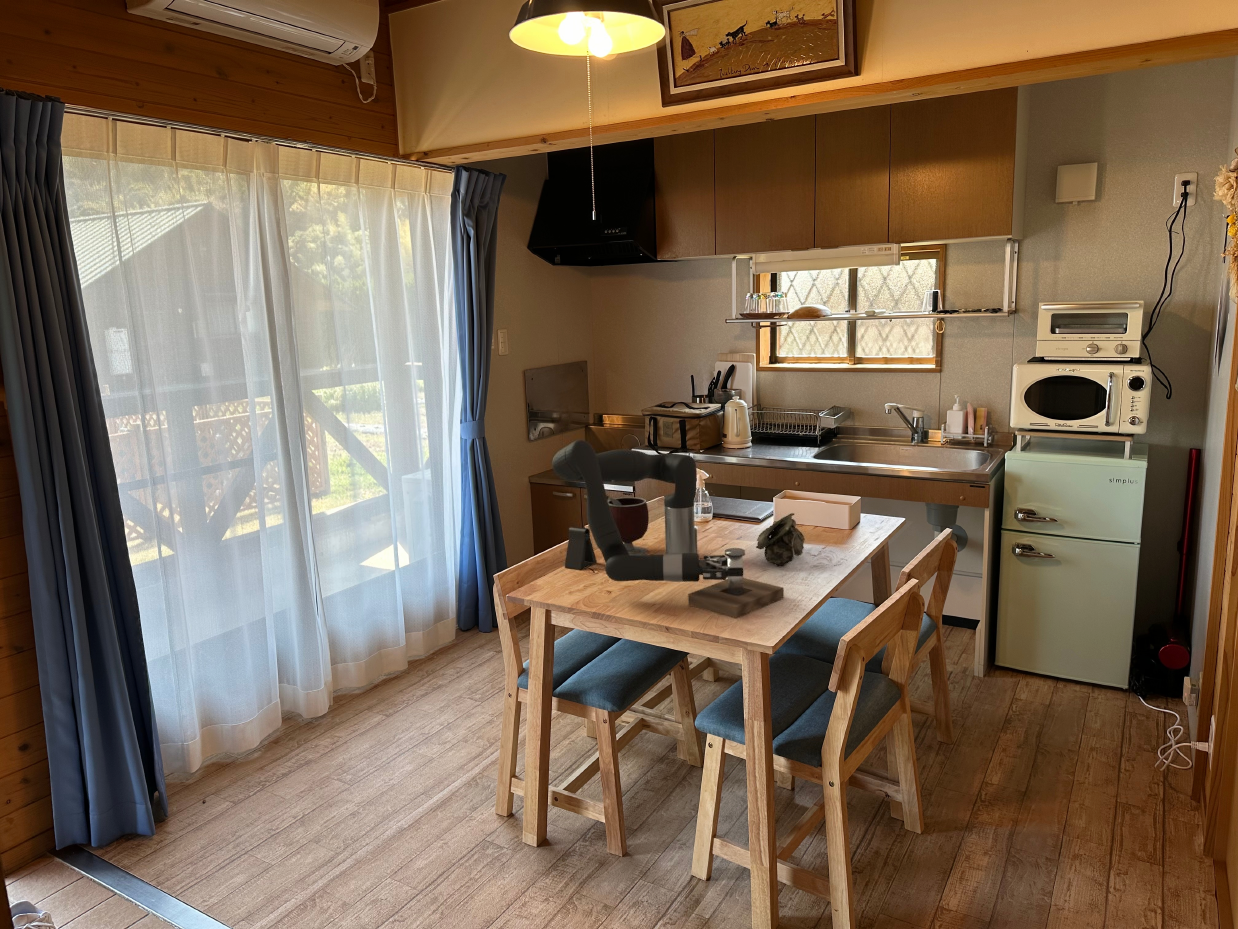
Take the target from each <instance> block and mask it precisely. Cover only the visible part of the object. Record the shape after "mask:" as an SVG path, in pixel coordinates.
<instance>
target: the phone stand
mask: <svg viewBox="0 0 1238 929" xmlns="http://www.w3.org/2000/svg"><path fill="white" fill-rule="evenodd" d="M566 549H567V550H566V555H565V560H564V561H565V562H564V568H565V569H570V570H577V571H582V570H584V569H587V568H589V567H590V566H593V565H595V564H598V563H597V562H598V561H597V557H596V555H595V554H596V553H595V550H594V546H593V544H592V540H591V530H590V528H586V527H580V526H569V528H568V541H567V548H566Z"/></svg>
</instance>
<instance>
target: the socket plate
mask: <svg viewBox="0 0 1238 929" xmlns="http://www.w3.org/2000/svg"><path fill="white" fill-rule="evenodd" d="M784 594H785V593H784V587H783V586H778V585H774V584H771V583H765V582H762V581H757V580H753V579H751V578H750V579H749V578H745V577H743V595H740V596H734V595H731V594H728V578H726V580H721V581H719V582H716V583H713V584H711V585H708V586H706V587H703V588H701V589H698V590H695V591H693V592H689V593H688V594H687V595H688V596H687V599H688V603H687V604H688V606H691V607H694V608H698V609H702V610H706V611H709V612H712V613H716V614H719V615H723V616H726V617H729V618H733V619H735V620H736V619H739V618H741V617H744V616H746V615H748V614H750V613H752V612H755V611H758V610H759V609H762V608H764V607H767V606H769V605H772V604H774V603H776V602H779V601H780V600H783V599H784V598H785V597H784Z"/></svg>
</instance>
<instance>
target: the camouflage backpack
mask: <svg viewBox="0 0 1238 929" xmlns="http://www.w3.org/2000/svg"><path fill="white" fill-rule="evenodd" d="M793 516H795V513H794V512H792V513H789V514H787V515H786V516H783V517H782V518H780V519H778V520H777V521H776V522H774V523H772V524H771V525H770V526H768V527H767V528H765V529H764V530H762V532H761V533H759V535H758V537H757V539H756V542H757V543H756V546H755V548H756V549H759V550H764V558H765V560H766V561H767V562H768V563H769V564H772V565H774V566H776V567H777V568H782V567H783V568H784V566H786V565H787V564H789V563H791V562H792V561H793V560H794V556H798V557H799V556H801V555H802V554H803V550H804V548H805V546H804V543H805V540H806V539H805V535H804V534H803V533H802V531H800V530H799V529H798V528H797V527H796V526H797V522H796V520H795V519H794V518H793Z"/></svg>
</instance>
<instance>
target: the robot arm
mask: <svg viewBox="0 0 1238 929" xmlns="http://www.w3.org/2000/svg"><path fill="white" fill-rule="evenodd" d="M551 466H552V469H553V472H554V473H555V474H556V475H557V476H558V477H559V478H561V479H563V480H564V481H569V482H572V481H573V482H574V481H576V482H577V481H584V485H585V489H586V518H587V519H586V520H587V524H588V527H589V528H588V529H589V530H590V534H591V536H592V537H593V540H594V543H595V545H596V546H597V548H598V549H599V551H600V552H601V555H602V557H603V559H604V562H605V565H604V566H605V567H604V570H605V573H606V575H607V577H608V578H609V580H612V581H614V582H633V581H634V582H635V581H649V582H650V581H651V582H654V581H655V582H671V583H672V582H674V583H675V582H679V583H682V582H683V583H684V582H685V583H691V582H692V583H696V582H697V583H698V582H699V581H700V576H702V580H704V581H709V580H710V581H711V580H712V581H714V580H715V581H717V580H718V581H724V580H727V579H728V577H730V576H743V577H744V567H743V568H742V567H734V568H729V569H728V566H727V556H726V555H725V554H722V555H721V554H720V555H719V554H718V555H715V554H714V555H707V554H706V555H703V559H700V555H699V553H698V529H697V527H696V526H695V524H696V523H695V522H696V521H695V499H696V496H697V479H698V478H697V477H698V476H697V474H698V470H697V464H696V461H695V459H694V458H693V457H692V456H691V455H687V454H680V453H660V454H648V453H646V452H644V451H639V450H636V449H624V448H621V449H620V448H619V449H613V450H608V451H604V452H599V453H596V451H595V449H594V447H593V446H592V444H590V443H589V442H588V441H587V440H583V439H578V440H575V441H573V442H571V443H570V444H568V445H566V446H565V447H562V448H561V449H560V450H558V451H557V453H555V455H554V456H553V458H552V462H551ZM645 479H646V480H647V479H650V480H655V481H659V482H660V481H661V482H663V483H669V484H674V492H672V493H669V494H667V495H666V496H665V497H664V500H663V504H664V506H663V507H664V509H663V510H664V533H665V534H664V535H665V536H664V537H665V538H664V539H665V540H664V541H665V542H664V543H665V554H662V553H661V554H657V553H656V554H646V555H644V556H638V555H629V553H628V551H627V549H626V547H625V545H624V543H623V542H622V539H621V536H620V533H619V531H618V528H617V525H616V523H615V520H614V518H613V516H612V513H611V510H610V507H609V504H608V498H607V493H606V489H605V484H604V481H619V482H630V483H631V482H639V481H643V480H645Z"/></svg>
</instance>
